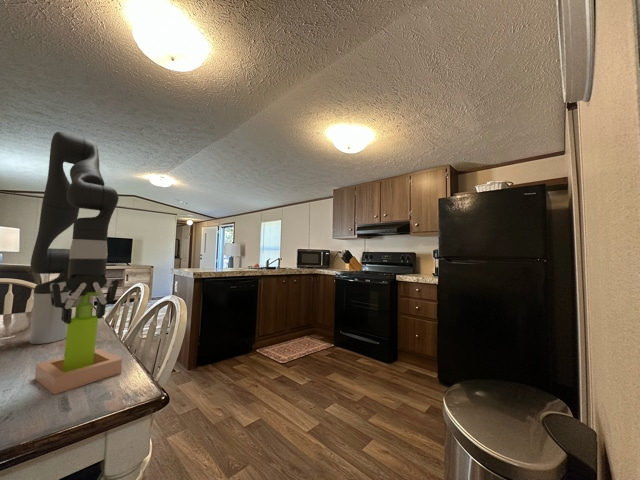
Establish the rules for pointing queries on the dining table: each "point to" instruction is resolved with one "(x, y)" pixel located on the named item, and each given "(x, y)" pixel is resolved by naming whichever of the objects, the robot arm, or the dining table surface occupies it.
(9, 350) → the dining table surface
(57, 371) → the tray
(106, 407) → the dining table surface
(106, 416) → the dining table surface
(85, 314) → the green pump bottle
